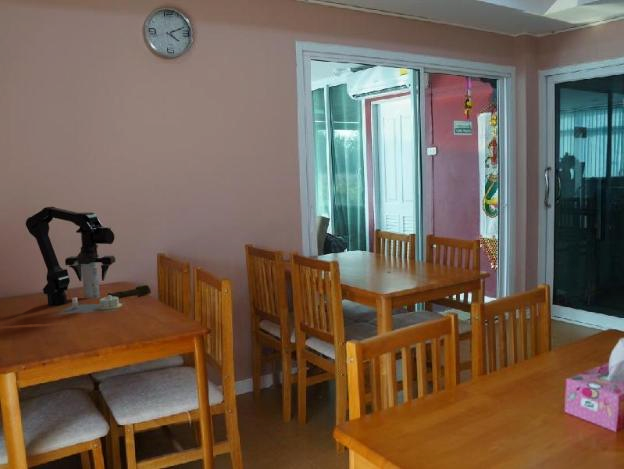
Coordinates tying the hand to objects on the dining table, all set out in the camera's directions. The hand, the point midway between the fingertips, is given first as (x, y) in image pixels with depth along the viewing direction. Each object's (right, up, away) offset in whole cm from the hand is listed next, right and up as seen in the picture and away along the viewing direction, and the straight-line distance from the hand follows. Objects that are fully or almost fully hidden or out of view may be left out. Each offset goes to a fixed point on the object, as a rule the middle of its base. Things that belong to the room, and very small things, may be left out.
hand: (91, 280), depth 234 cm
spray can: (-7, -10, +20) cm, 23 cm away
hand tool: (+10, -9, +18) cm, 22 cm away
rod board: (+2, -12, -4) cm, 13 cm away
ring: (+9, -10, -4) cm, 14 cm away
